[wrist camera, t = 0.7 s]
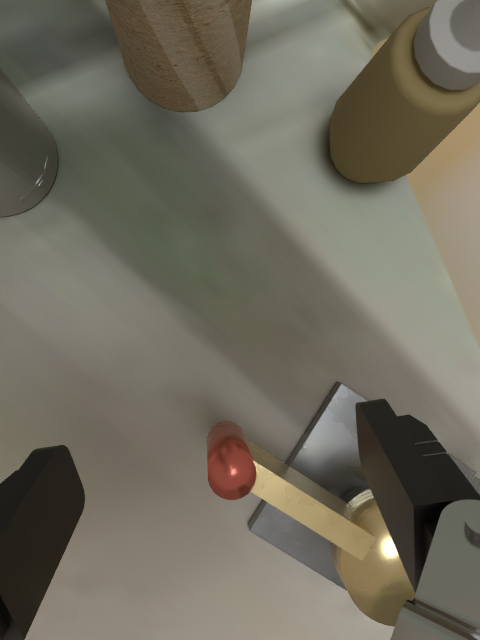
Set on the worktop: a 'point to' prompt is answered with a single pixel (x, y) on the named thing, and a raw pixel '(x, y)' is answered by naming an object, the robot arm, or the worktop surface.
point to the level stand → (324, 481)
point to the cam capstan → (317, 519)
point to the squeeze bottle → (409, 94)
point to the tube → (182, 48)
